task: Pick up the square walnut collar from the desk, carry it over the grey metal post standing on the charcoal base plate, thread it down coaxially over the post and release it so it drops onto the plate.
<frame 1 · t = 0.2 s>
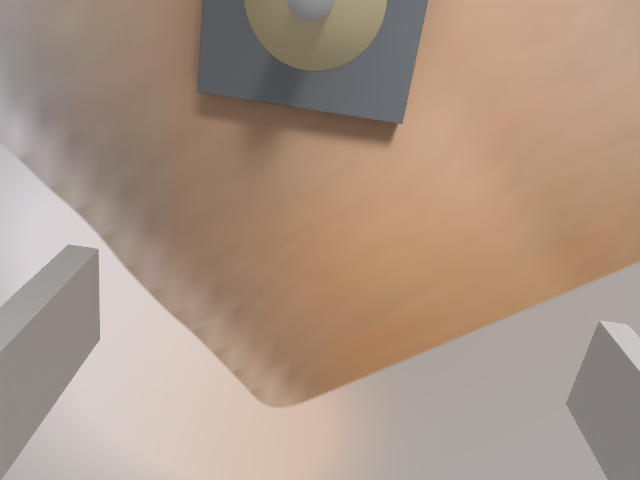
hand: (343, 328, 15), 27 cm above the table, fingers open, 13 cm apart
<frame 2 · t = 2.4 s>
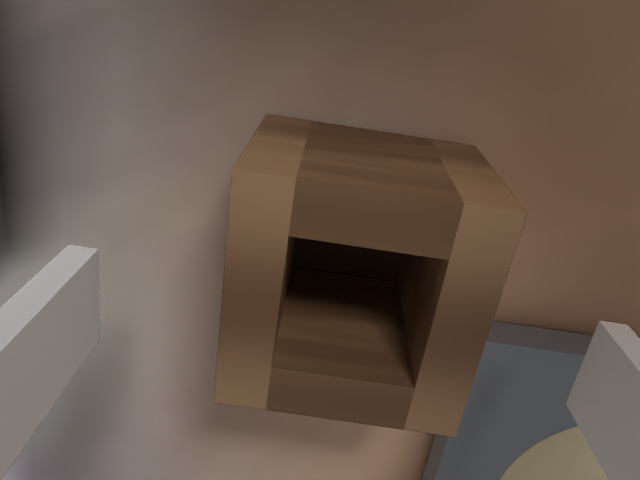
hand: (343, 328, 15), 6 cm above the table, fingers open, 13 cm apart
collar: (353, 226, 20), on the table
post block: (588, 476, 24), on the table
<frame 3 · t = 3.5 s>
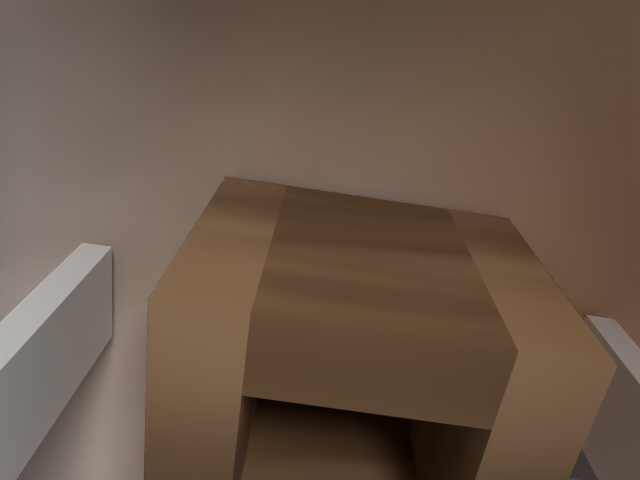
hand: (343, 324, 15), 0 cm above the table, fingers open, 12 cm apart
collar: (345, 319, 15), on the table
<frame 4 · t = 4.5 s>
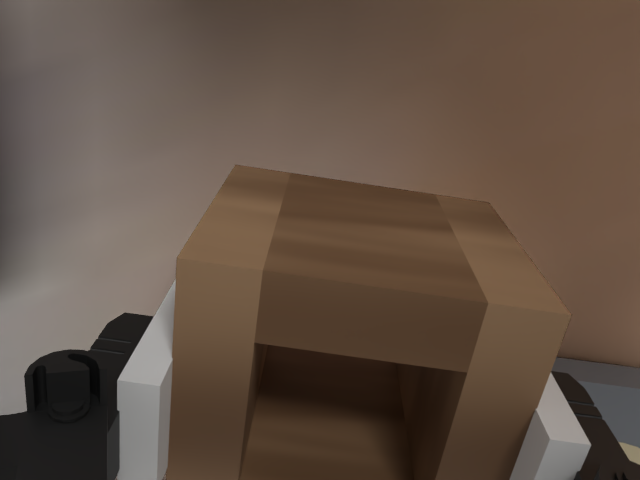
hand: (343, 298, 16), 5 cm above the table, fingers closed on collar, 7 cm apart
collar: (342, 295, 17), point 4 cm above the table, touching gripper
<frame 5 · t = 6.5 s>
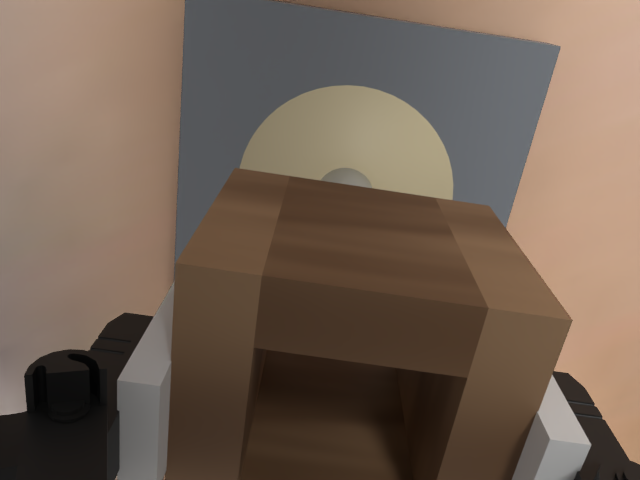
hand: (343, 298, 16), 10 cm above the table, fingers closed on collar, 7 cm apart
collar: (342, 298, 17), point 9 cm above the table, touching gripper
post block: (344, 183, 25), on the table
when the fingers open (3 cm above the table, at t = 8.3 s): collar stays where it is, resting on post block.
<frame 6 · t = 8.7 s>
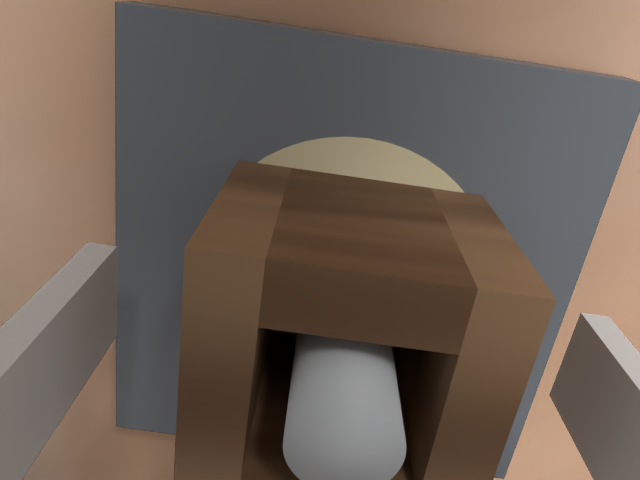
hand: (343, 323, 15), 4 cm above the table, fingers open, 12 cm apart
collar: (342, 285, 17), point 2 cm above the table, touching post block
post block: (342, 260, 19), on the table
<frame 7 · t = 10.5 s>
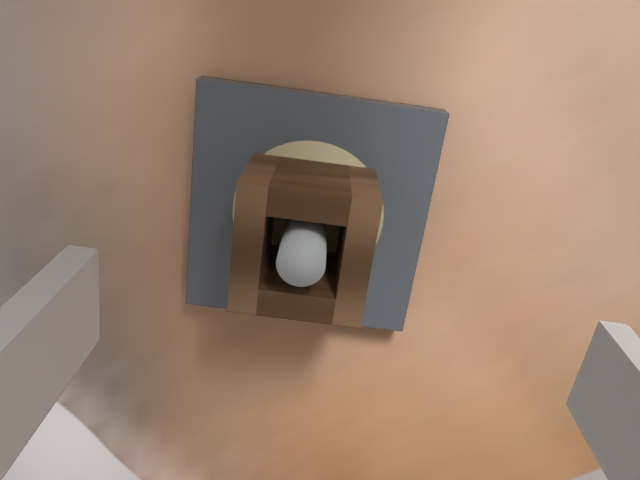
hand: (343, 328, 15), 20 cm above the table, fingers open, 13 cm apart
collar: (307, 218, 34), point 2 cm above the table, touching post block
post block: (309, 207, 35), on the table
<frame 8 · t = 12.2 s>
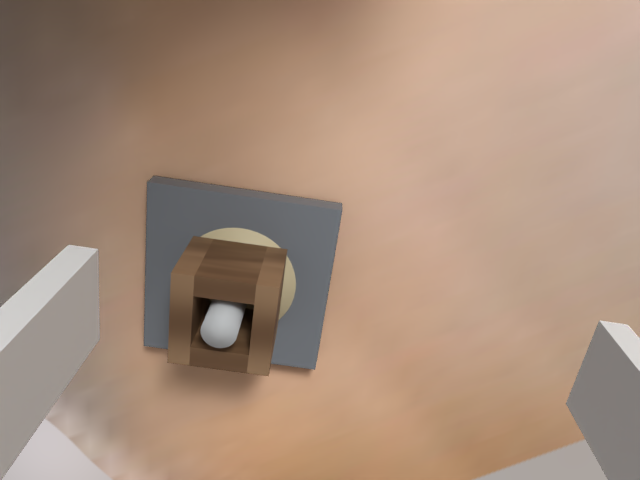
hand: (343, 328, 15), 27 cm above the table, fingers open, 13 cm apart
collar: (236, 284, 43), point 2 cm above the table, touching post block
post block: (240, 273, 44), on the table
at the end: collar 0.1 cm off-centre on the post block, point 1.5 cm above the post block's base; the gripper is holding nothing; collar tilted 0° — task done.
